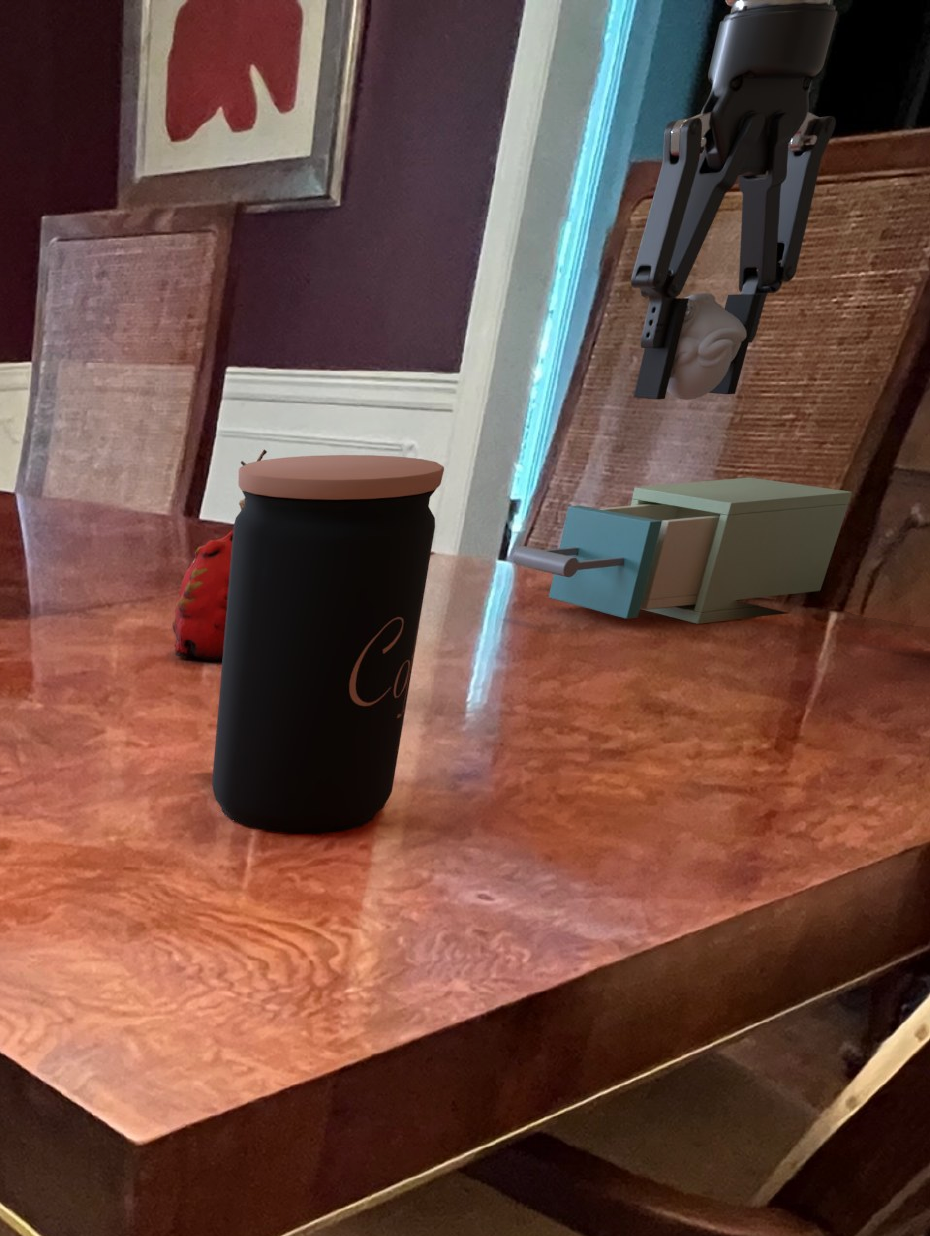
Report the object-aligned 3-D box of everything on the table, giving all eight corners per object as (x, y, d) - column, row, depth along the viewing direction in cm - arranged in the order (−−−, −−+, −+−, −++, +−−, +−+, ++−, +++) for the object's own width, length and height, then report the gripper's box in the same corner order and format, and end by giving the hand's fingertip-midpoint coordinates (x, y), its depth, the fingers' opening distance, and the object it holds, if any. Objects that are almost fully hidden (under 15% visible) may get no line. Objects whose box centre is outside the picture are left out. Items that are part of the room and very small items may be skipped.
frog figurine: (650, 395, 114) (674, 292, 110) (740, 397, 110) (768, 290, 106) (627, 401, 110) (651, 295, 106) (718, 403, 107) (747, 293, 103)
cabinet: (697, 624, 119) (731, 503, 114) (607, 600, 128) (634, 487, 123) (814, 610, 122) (852, 491, 117) (718, 588, 131) (749, 477, 126)
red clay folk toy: (199, 642, 120) (213, 442, 111) (272, 650, 116) (294, 445, 107) (157, 659, 115) (169, 452, 106) (232, 668, 112) (251, 455, 102)
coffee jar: (354, 849, 77) (409, 482, 66) (181, 822, 82) (206, 474, 71) (411, 797, 84) (469, 457, 73) (249, 774, 89) (281, 452, 78)
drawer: (565, 625, 116) (587, 527, 112) (490, 604, 124) (508, 511, 120) (735, 606, 120) (763, 511, 116) (652, 586, 128) (675, 496, 124)
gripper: (709, -4, 91) (617, 405, 105) (931, -1, 96) (814, 391, 110) (632, 13, 97) (554, 399, 111) (844, 15, 101) (744, 386, 115)
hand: (684, 395), depth 110 cm, fingers closed on frog figurine, 6 cm apart
